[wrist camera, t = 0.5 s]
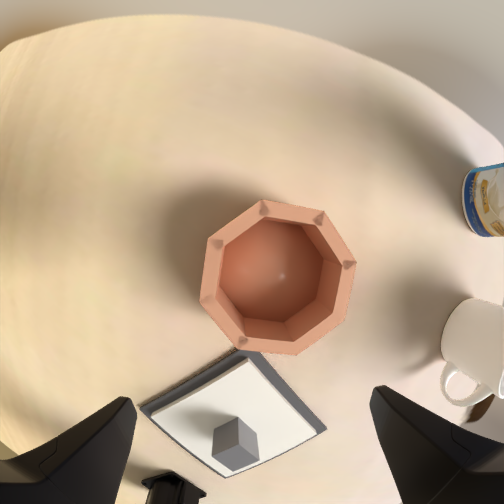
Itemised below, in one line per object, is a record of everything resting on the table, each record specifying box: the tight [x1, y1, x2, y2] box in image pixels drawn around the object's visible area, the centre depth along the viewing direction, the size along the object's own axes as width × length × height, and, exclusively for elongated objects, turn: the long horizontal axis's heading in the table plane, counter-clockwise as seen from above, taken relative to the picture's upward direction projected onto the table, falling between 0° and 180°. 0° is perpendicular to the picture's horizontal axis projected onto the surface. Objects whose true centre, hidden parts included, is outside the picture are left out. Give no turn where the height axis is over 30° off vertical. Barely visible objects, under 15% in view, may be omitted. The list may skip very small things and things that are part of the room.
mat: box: [140, 349, 327, 478], centre depth 23 cm, size 14×14×1 cm
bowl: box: [199, 199, 357, 355], centre depth 20 cm, size 10×10×5 cm
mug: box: [440, 298, 504, 407], centre depth 19 cm, size 9×12×11 cm
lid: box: [151, 358, 317, 477], centre depth 21 cm, size 12×12×5 cm
